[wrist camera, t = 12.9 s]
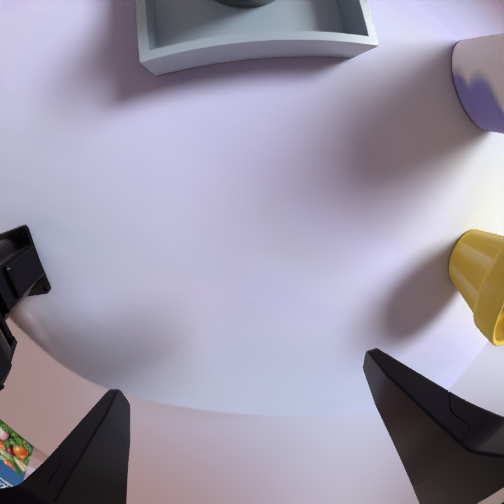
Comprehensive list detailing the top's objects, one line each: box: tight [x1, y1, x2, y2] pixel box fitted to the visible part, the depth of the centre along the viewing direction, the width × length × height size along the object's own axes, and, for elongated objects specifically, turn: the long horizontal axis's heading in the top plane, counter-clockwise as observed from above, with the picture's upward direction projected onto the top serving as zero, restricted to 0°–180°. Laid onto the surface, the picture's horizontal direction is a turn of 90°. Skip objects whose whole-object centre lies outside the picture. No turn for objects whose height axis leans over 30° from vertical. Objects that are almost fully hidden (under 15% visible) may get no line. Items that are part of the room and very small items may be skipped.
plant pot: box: [449, 229, 504, 346], centre depth 20 cm, size 10×10×10 cm
